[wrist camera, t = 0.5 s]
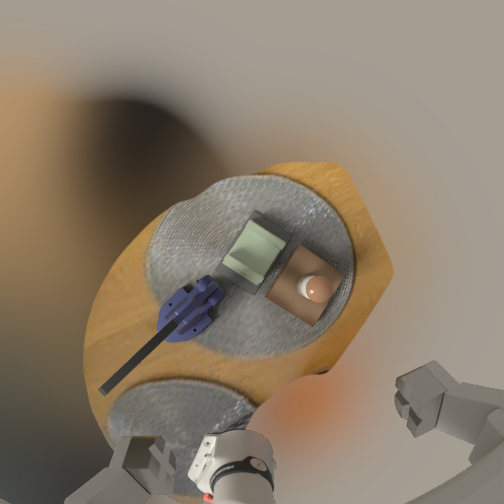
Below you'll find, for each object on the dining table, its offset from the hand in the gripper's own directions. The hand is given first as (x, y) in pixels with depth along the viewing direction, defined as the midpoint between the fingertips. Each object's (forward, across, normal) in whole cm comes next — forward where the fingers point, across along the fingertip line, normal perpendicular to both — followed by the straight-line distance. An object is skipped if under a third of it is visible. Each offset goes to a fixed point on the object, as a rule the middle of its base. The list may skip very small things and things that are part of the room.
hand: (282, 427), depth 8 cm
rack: (+49, +1, -6) cm, 49 cm away
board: (+47, +9, -15) cm, 51 cm away
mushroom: (+45, +9, -14) cm, 48 cm away
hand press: (+46, -14, -14) cm, 51 cm away
